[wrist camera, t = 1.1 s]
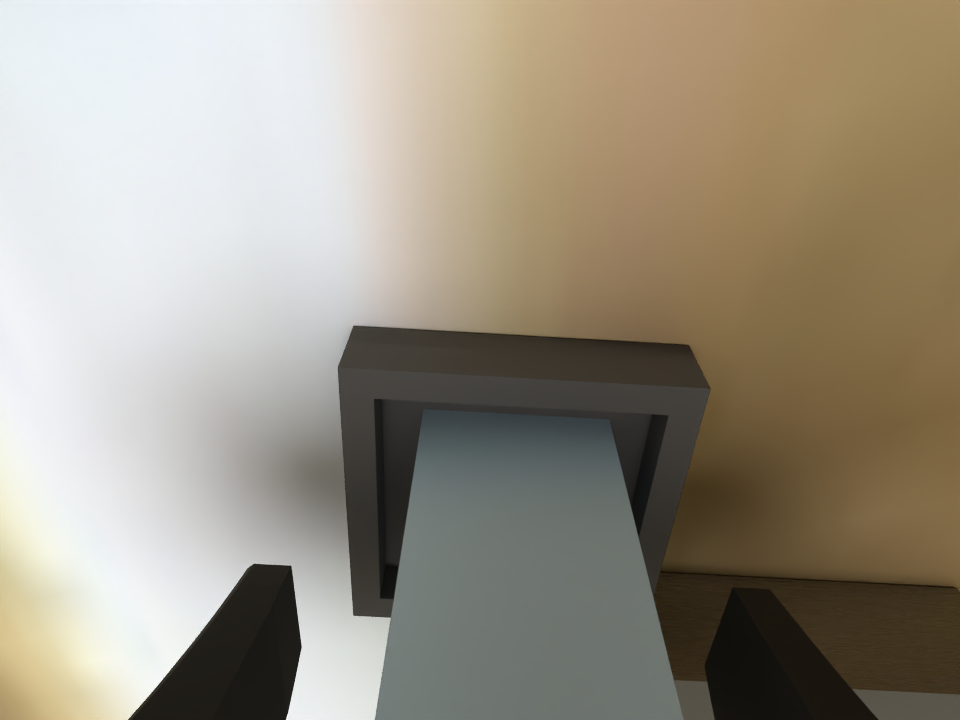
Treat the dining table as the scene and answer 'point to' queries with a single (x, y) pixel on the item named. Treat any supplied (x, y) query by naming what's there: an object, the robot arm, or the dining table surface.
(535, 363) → the square shadow box
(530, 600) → the plug
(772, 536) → the dining table surface
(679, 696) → the port block
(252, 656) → the robot arm
